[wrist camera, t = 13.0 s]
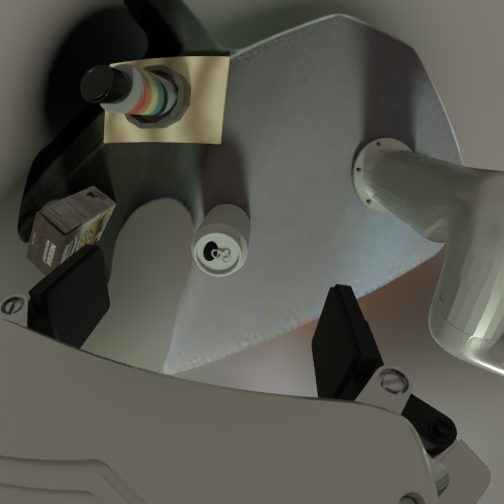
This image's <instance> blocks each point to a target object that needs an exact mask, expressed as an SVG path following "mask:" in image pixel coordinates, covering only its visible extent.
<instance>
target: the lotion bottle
mask: <svg viewBox="0 0 504 504" xmlns="http://www.w3.org/2000/svg"><path fill="white" fill-rule="evenodd" d="M178 89H179V88H178V87H177V85H175V84H174V83H172V82H170V81H168V80H166V79H164V78H162V77H160V76H158V75H155V74H153V73H151V72H148V71H146V70H144V69H142V68H139V67H137V66H134V65H131V64H120V65H116V66H114V67H110V66H106V65H99V66H95V67H93V68H91V69H90V70H88V71H87V72H86V73H85V75H84V76H83V78H82V81H81V93H82V95H83V97H84V98H85V99H86V100H87V101H88V102H90V103H97V104H100V105H101V106H102V107H103V108H104V109H105V110H106V111H108V112H111V113H119V114H139V115H154V116H165V115H168V114H170V113H171V111H172V110H173V108H174V107H175V105H176V104H177V98H178Z"/></svg>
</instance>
